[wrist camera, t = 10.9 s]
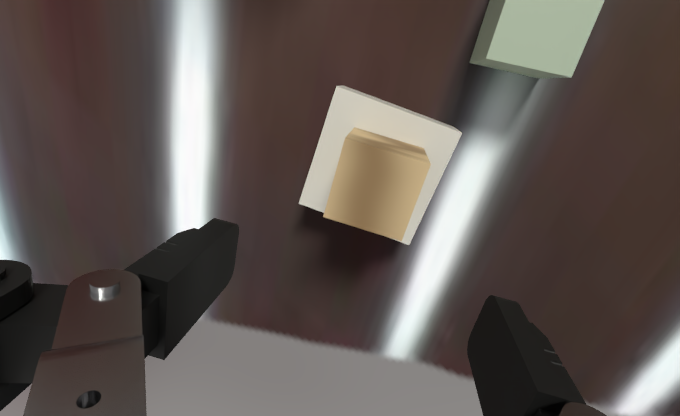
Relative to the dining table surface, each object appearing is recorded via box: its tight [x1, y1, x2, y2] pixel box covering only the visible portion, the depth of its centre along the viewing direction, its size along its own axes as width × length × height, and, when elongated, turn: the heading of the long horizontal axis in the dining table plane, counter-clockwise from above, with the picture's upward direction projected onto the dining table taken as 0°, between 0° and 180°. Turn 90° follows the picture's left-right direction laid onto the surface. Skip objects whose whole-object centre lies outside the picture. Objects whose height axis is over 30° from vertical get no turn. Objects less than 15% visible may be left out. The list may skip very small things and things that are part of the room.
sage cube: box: [469, 0, 604, 79], centre depth 22 cm, size 5×5×5 cm
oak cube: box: [323, 127, 431, 241], centre depth 23 cm, size 5×5×5 cm
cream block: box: [299, 86, 462, 245], centre depth 27 cm, size 9×9×4 cm
